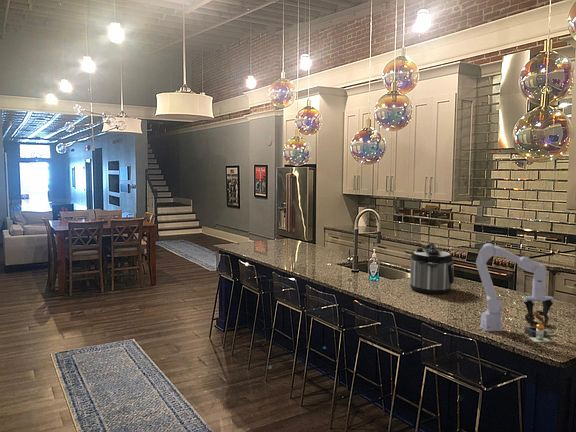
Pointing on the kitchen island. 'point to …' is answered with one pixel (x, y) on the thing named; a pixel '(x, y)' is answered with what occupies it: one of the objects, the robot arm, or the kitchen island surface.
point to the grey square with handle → (532, 331)
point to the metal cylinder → (539, 331)
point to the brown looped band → (531, 318)
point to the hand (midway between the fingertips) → (537, 315)
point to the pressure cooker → (431, 270)
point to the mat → (540, 340)
